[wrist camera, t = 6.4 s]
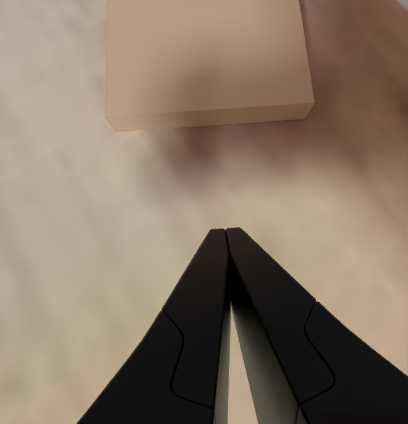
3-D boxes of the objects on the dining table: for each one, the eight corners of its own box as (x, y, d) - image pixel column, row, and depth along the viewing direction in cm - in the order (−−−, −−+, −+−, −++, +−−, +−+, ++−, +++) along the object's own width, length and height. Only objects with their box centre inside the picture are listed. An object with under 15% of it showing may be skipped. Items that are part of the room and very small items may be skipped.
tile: (314, 102, 17) (289, -62, 20) (105, 116, 17) (107, -48, 20) (302, 122, 20) (281, -27, 22) (117, 135, 20) (118, -15, 22)
